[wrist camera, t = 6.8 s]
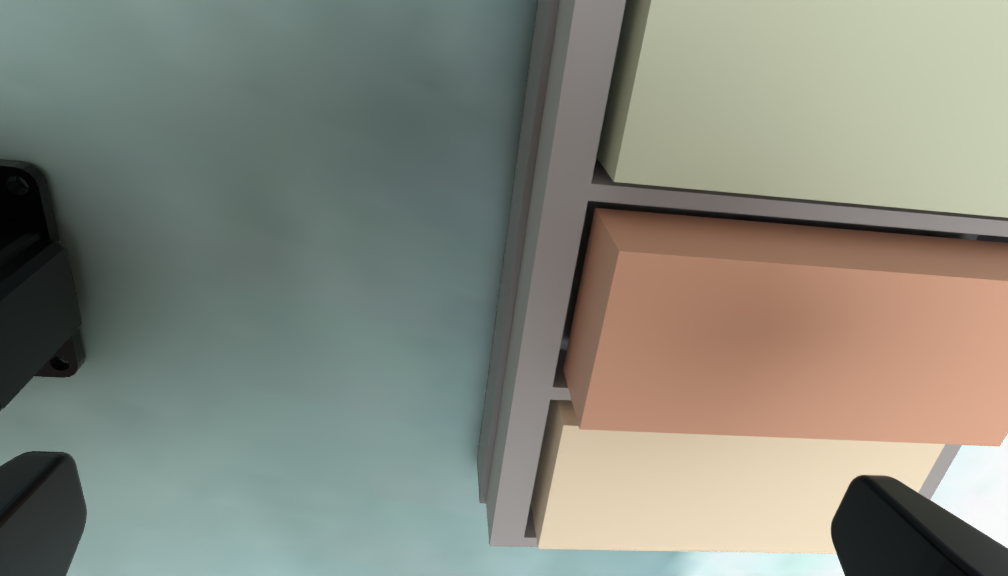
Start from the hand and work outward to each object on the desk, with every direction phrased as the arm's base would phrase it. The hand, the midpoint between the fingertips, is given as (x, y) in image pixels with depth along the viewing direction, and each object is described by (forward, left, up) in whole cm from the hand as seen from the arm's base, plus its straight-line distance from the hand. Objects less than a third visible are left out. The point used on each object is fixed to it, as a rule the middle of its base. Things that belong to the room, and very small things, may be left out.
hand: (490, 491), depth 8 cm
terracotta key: (+8, -2, -8) cm, 12 cm away
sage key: (+9, +4, -10) cm, 14 cm away
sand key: (+9, -7, -10) cm, 15 cm away
